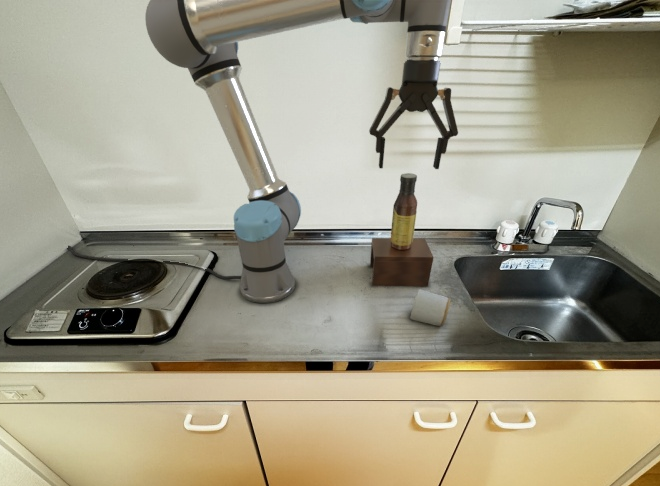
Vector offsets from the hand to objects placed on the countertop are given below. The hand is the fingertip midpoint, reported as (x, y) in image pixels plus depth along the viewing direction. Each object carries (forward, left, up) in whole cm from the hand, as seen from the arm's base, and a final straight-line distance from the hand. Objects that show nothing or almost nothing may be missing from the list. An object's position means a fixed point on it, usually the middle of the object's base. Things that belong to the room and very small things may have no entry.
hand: (408, 167), depth 78 cm
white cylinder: (+6, -20, -31) cm, 38 cm away
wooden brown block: (+1, 0, -31) cm, 31 cm away
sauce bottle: (+1, 0, -22) cm, 22 cm away
